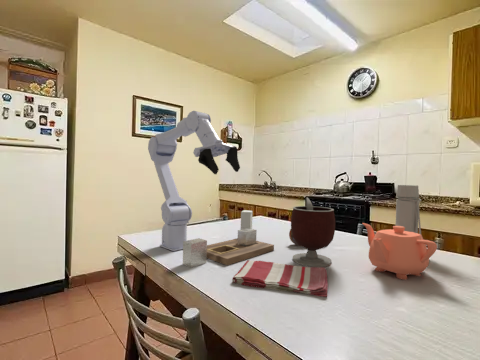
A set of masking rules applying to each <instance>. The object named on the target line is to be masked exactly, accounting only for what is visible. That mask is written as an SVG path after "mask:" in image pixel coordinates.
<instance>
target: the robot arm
mask: <svg viewBox="0 0 480 360" xmlns="http://www.w3.org/2000/svg"><path fill="white" fill-rule="evenodd" d="M211 122H212V119H211V116H210V114H208V113H205V112H201V111H196V110H192V111H190V112H189V113H188V114H187V116H186V117H182V119H181V120H180V121H178V123H177V124H176V127H174V128H172V129H168V130H167V131H164V132H161V133H157V134H155V135H154V136H151V137H150V139H149V140H148V146H147V150H148V153H149V155H150V156H149V157H150V160H151V161H152V162H153V163H154V168H155V171H156V174H157V177H158V179H159V183H160V187H161V189H162V193H163V197H164V200H165V201H164V202H163V203H162V204H161V207H160V209H161V219H162V221H163V222H164V224H163V226H162V228H161V244H159V247H161V248H164V249H167V250H170V251H172V252H174V251H175V252H177V251H180V250H183V241H188V240H187V238H188V237H187V235H188V232H187V231H188V224H189V222H190V220H191V219H192V216H193V211H192V208H191V206H190V205H189V204H188V201H187V200H186V199H184V198H183V197H181V195H179V192H178V189H177V186H176V182H175V178H174V176H173V174H172V171H171V168H170V165H169V163H172V162H173V160H174V157H175V154H176V151H177V148H178V142H177V140H178V139H179V138H181V137H185V138H186V137H188V136H191V135H192V134H194V133H195V135H196V136H197V138H198V140H199V142H200V143H201V145H202V146H199V147H194V149H193V152H192V153H193V155H194V157H195V158H198V159H197V161H198V162H199V164H201V165H203V166H205V167H206V168H207V169H208V170H209V171H211V172H212V174H213V175H217V174H218V172H219V171H220V170H219V167H218V165H217V162H216V161H215V158H216V157H220V156H222V155H226V158H225V161H226V162H227V163H229V165H230V166H231V167H232V169H233V170H234V171H235V173H237V172H239V170H240V169H241V166H240V161H239V158H238V157H239V156H238V150H239V149H238V148H237V146H236V145H231V144H227V143H224V142H223V139H221V138H220V137H219V136H218V134H217V132H216V130H215V129H214V127H213V126H212V124H211Z"/></svg>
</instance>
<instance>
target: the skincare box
mask: <svg viewBox="0 0 480 360" xmlns="http://www.w3.org/2000/svg"><path fill="white" fill-rule="evenodd" d="M253 215H254V214H253V210H247V209H244V210H242V211H241V212H240V230H242V229H248V228H249V229H253Z"/></svg>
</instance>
